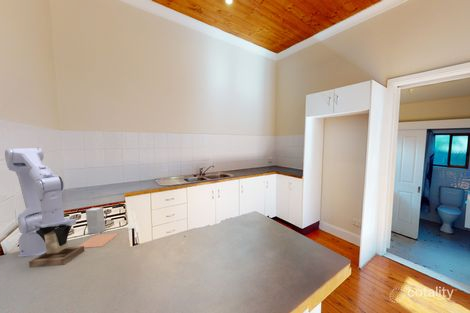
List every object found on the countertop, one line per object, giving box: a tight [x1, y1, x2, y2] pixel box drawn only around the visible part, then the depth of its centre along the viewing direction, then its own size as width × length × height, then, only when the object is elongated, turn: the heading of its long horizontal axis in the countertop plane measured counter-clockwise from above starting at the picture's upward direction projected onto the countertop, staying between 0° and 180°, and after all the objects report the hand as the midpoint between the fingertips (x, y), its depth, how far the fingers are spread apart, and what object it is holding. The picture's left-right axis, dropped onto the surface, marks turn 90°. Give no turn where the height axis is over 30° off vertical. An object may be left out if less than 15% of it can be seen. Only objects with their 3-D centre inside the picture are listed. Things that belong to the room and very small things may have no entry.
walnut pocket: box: [28, 245, 85, 268], centre depth 68 cm, size 12×8×2 cm
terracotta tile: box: [77, 233, 120, 249], centre depth 80 cm, size 11×11×1 cm
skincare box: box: [85, 207, 106, 235], centre depth 91 cm, size 6×4×12 cm
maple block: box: [44, 231, 68, 254], centre depth 68 cm, size 4×4×7 cm
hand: (56, 245), depth 68 cm, fingers closed on maple block, 4 cm apart
